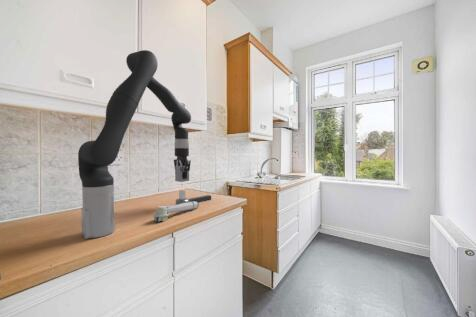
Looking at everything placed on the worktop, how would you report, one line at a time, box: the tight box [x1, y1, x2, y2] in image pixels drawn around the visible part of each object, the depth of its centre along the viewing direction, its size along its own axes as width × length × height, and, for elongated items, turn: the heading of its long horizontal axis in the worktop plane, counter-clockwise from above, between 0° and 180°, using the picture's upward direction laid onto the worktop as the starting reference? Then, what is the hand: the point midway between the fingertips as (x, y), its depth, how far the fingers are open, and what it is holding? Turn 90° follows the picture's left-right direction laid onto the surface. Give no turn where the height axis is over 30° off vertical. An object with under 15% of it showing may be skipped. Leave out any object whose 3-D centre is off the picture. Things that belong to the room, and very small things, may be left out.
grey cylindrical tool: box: [153, 201, 200, 223], centre depth 94 cm, size 5×7×25 cm
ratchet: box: [175, 189, 212, 205], centre depth 116 cm, size 22×7×8 cm, turn 136°
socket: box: [174, 166, 190, 183], centre depth 110 cm, size 5×5×8 cm
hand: (182, 178), depth 110 cm, fingers closed on socket, 5 cm apart
